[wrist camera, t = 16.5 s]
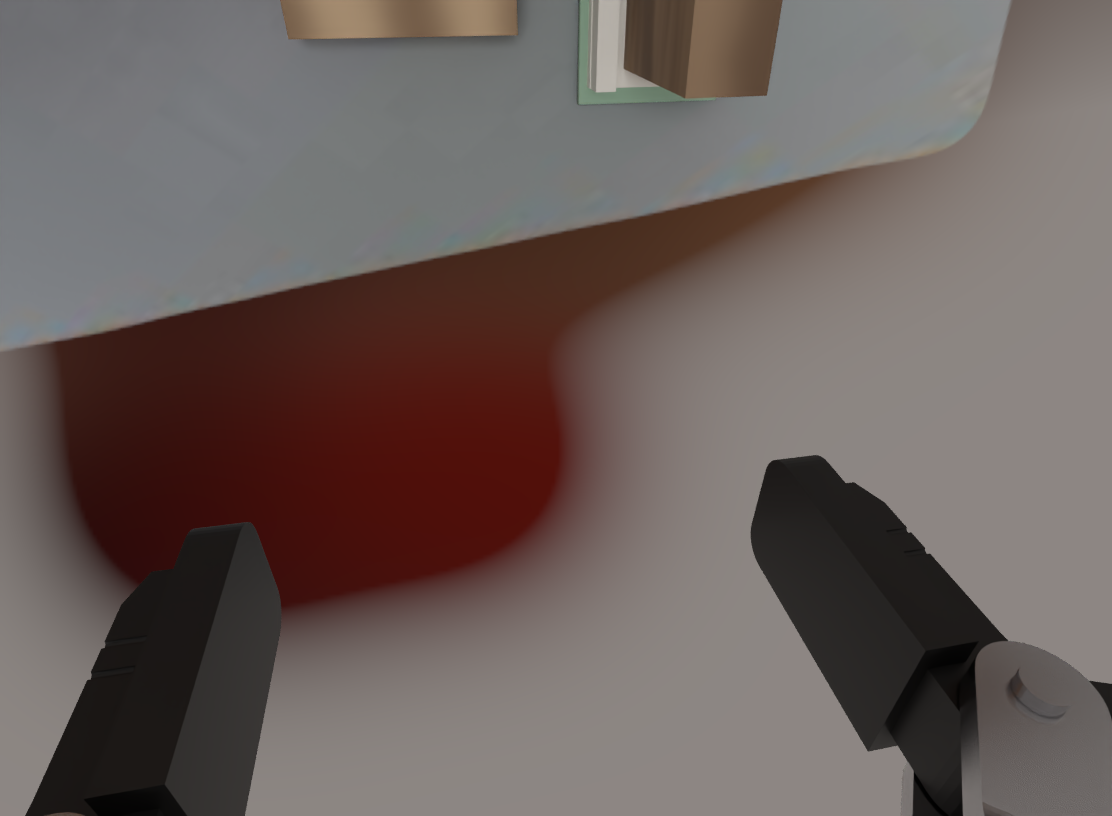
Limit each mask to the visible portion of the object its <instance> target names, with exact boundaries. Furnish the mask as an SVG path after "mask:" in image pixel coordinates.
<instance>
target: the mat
mask: <svg viewBox="0 0 1112 816" xmlns="http://www.w3.org/2000/svg"><path fill="white" fill-rule="evenodd" d="M588 16H589V0H579V30H578V98H577V104H578V105H586V104H616V103H645V102H674V101H704V100H716V97H714V98H688V99H685V98H683V97H681V96H679V95H677V94H675V93H673V92H671V91H668V90H666V89H664V88H662V87H628V88H616V92H595V91H593V90H592V89H589V88H588V87H587V61H588Z"/></svg>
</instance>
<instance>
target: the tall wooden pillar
mask: <svg viewBox="0 0 1112 816" xmlns="http://www.w3.org/2000/svg"><path fill="white" fill-rule="evenodd" d="M781 6H782V0H627V6H626V27H625V48H624V69H625V70H627V71H629V72H631V73H633V74H635V75H637V76H639V77H642V78H644V79H646V80H648V81H650V82H652V83H654V84H656V85H658V86H660V87H662V88H664V89H666V90H668V91H671V92H673V93H675V94H677V95H679V96H681V97H683V98H685V99H688V98H714V97H740V96H766V95H767V91H768V85H769V79H770V73H771V67H772V61H773V55H774V49H775V43H776V37H777V31H778V25H779V18H780V12H781Z"/></svg>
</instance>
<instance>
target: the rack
mask: <svg viewBox="0 0 1112 816" xmlns="http://www.w3.org/2000/svg"><path fill="white" fill-rule="evenodd" d="M626 6H627V0H589V16H588V61H587V87H588V88H589V89H592V90H593V91H595V92H616V88H628V87H660V86H658V85H656V84H654V83H652V82H650V81H648V80H646V79H644V78H642V77H639V76H637V75H635V74H633V73H631V72H629V71H627V70H625V69H624V48H625V27H626Z"/></svg>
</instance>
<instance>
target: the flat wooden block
mask: <svg viewBox="0 0 1112 816" xmlns="http://www.w3.org/2000/svg"><path fill="white" fill-rule="evenodd" d="M280 1H281V6H282V11H283V15H284V20H285V25H286V30H287V34H288V39H333V38H389V37H444V36H499V35H518V26H517V0H280Z"/></svg>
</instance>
